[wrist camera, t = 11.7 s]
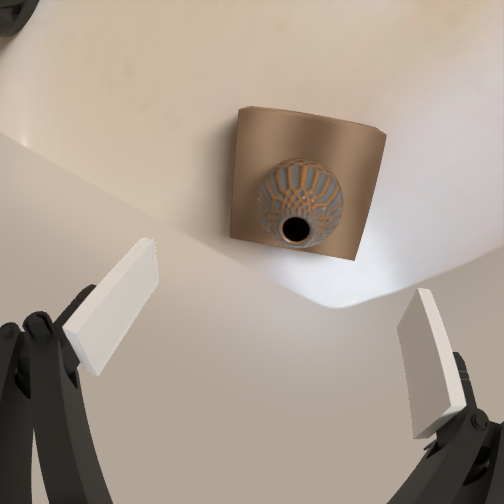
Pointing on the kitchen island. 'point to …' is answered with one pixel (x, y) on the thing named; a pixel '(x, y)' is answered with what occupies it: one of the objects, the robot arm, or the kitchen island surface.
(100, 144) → the kitchen island surface
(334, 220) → the vase
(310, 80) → the kitchen island surface
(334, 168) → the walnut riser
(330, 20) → the kitchen island surface
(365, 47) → the kitchen island surface
